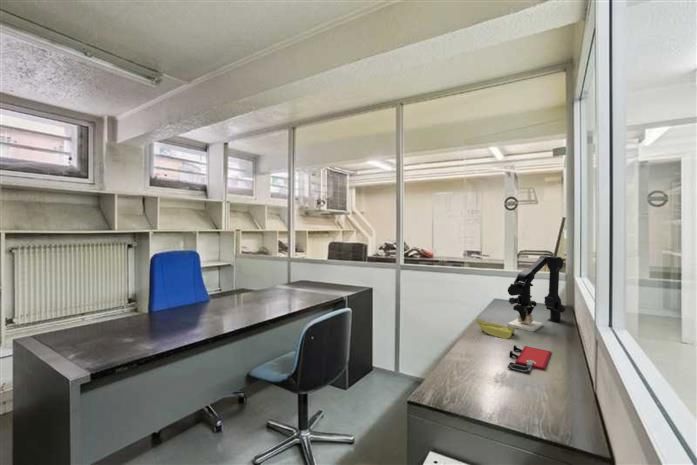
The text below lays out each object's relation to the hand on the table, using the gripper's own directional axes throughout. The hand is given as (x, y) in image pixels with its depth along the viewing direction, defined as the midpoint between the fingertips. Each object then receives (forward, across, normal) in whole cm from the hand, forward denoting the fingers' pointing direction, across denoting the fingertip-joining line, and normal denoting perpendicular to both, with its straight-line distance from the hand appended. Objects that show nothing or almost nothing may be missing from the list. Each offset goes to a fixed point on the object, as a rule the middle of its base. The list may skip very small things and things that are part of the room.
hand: (525, 319), depth 199 cm
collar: (+1, 0, 0) cm, 1 cm away
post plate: (+4, 0, 0) cm, 4 cm away
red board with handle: (+4, +48, +20) cm, 52 cm away
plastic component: (+4, +23, -7) cm, 25 cm away
